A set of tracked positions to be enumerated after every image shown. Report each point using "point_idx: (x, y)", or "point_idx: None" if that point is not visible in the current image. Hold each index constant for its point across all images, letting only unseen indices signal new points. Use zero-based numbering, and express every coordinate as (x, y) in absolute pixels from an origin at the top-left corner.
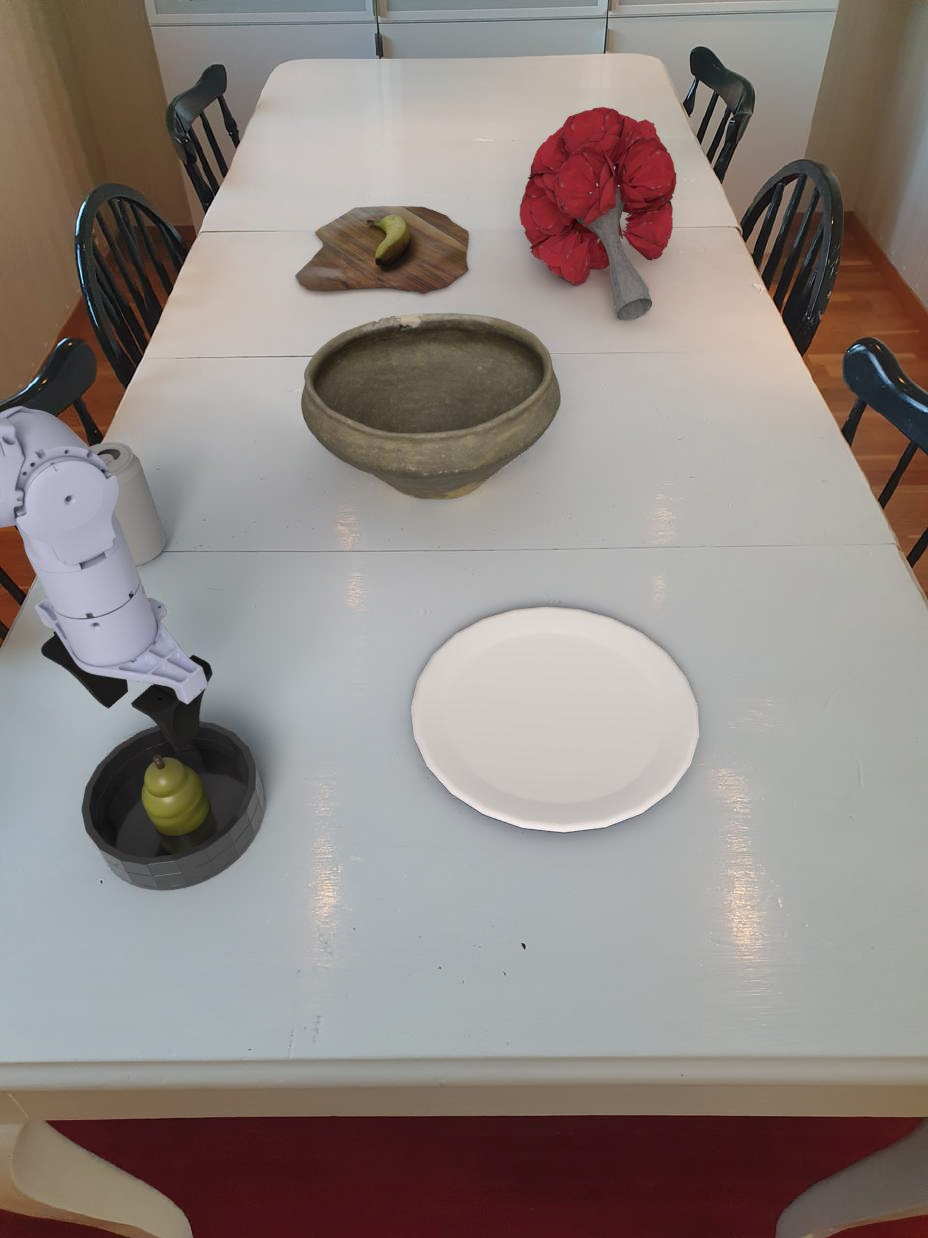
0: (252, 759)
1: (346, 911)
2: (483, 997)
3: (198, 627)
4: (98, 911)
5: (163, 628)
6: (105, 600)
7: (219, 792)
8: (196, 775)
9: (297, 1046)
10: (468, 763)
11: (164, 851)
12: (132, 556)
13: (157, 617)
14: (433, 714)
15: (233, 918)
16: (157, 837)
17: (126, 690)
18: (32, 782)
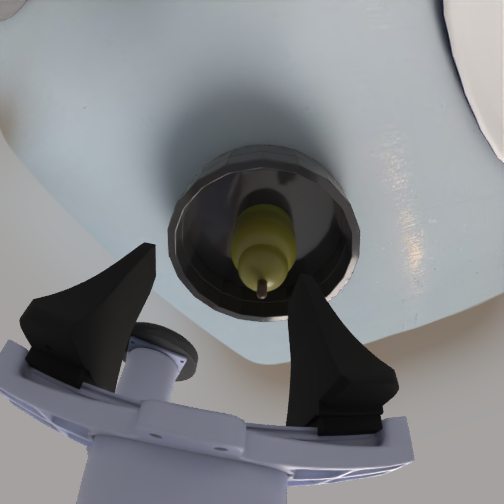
0: (342, 197)
1: (429, 260)
2: (492, 278)
3: (120, 5)
4: None
5: (292, 468)
6: None
7: (292, 200)
8: (285, 236)
9: (406, 327)
10: (500, 117)
11: None
12: (15, 3)
13: (247, 460)
14: (470, 61)
15: (352, 287)
16: None
17: (153, 248)
18: (114, 239)
